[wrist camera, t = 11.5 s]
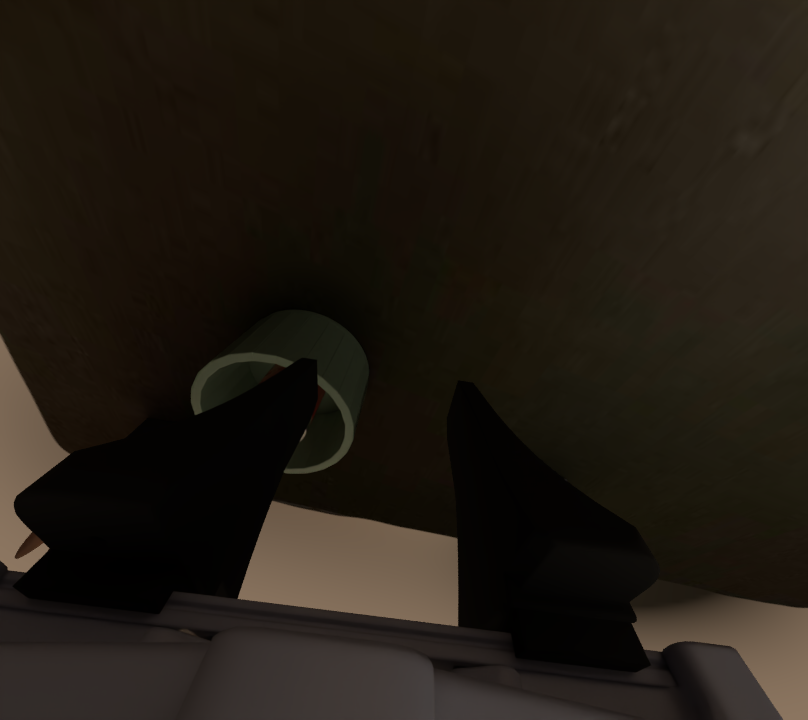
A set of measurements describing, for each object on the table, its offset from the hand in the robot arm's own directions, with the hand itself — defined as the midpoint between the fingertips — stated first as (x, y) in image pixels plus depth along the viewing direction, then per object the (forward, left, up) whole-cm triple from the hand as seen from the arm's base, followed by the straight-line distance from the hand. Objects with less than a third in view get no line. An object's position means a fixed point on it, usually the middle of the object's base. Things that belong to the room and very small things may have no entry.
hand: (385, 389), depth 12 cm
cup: (+7, +7, -10) cm, 14 cm away
